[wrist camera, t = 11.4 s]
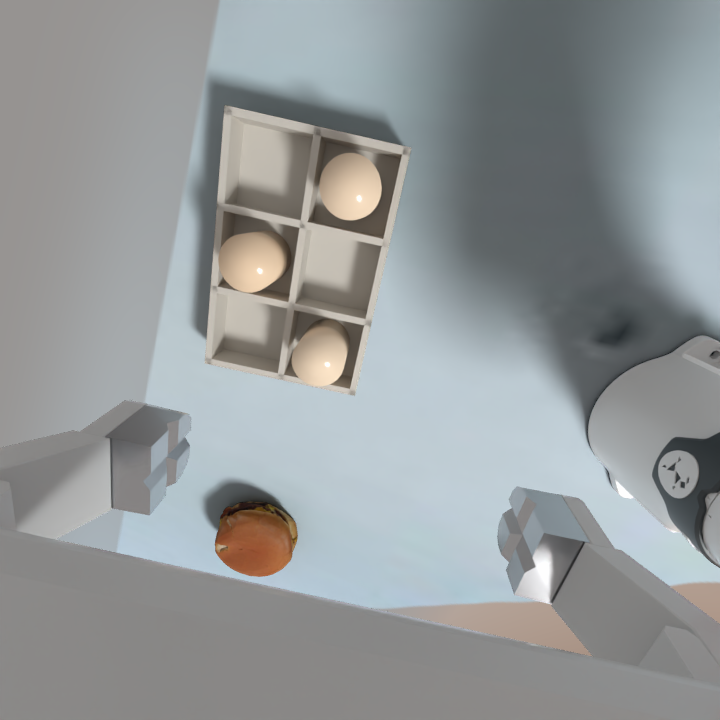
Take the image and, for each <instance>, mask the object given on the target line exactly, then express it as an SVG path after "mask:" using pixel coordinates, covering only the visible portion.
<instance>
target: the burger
mask: <svg viewBox="0 0 720 720" xmlns="http://www.w3.org/2000/svg"><path fill="white" fill-rule="evenodd" d="M297 536H298V535H297V527H296V523H295V522H294V520H293V519H292V518H291V517H290V516H288V515H287V514H286V513H284V512H283V511H281V510H280V509H278V508H276V507H273V506H272V505H270V504H268V503H263V502H245V503H243V502H242V503H238V504H236V505H235V506H233V507H232V508H231V507H227V508H226V509H225V510H224V511H223V514H222V515H221V517H220V526H219V530H218V532H217V536H216V540H215V551H216V553H217V555H218V556H219V558H220V559H221V560H222V561H223V562H224V563H225V564H226V565H227V566H229V567H230V568H232V569H233V570H235V571H237V572H239V573H242V574H246V575H249V576H258V577H261V576H268V575H272V574H274V573H276V572H278V571H280V570H282V569H283V568H284V567H285V566H286V565H287V564H288V562H289V561H290V560H291V558H292V552H293V550H294V547H295V545H296V542H297Z"/></svg>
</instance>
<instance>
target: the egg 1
mask: <svg viewBox="0 0 720 720" xmlns="http://www.w3.org/2000/svg"><path fill="white" fill-rule="evenodd" d="M218 263H219V269H220V272H221V274H222V276H223V277H224V279H225V280H226V281H227V283H228V284H229V285H231V286H232V287H233V288H235V289H237V290H239V291H242V292H247V293H252V292H257V291H260V290H262V289H264V288H265V287H267V286H268V285H270V284H271V283H273V282H274V281H276V280H278V279H279V278H281V277H282V276H283V275H285V273H286V272H287V271H288V269H289V267H290V265H291V251H290V248H289V245H288V244H287V242H286V241H285V239H284V238H283V237H282V236H280V235H279V234H277V233H275V232H273V231H268V230H262V231H256V232H250V233H244V234H238V235H235V236H232V237H231V238H229V239H228V240H227V241H226V242H225V243H224V244H223V245H222V247H221V249H220V252H219V257H218Z"/></svg>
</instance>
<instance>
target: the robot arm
mask: <svg viewBox="0 0 720 720" xmlns="http://www.w3.org/2000/svg"><path fill="white" fill-rule="evenodd" d="M713 351H714V354H713V355H712V356H710V355H711V353H712V352H713ZM190 430H191V417H190V415H189V414H187V413H183V412H179V411H175V410H170V409H166V408H162V407H158V406H154V405H148V404H146V403H141V402H136V401H132V400H125V401H123V402H122V403H120V404H119V405H117V406H116V407H115V408H113V409H112V410H110V411H109V412H107V413H106V414H105V415H103V416H102V417H100V418H99V419H97V420H96V421H95V422H93V423H92V424H90V425H89V426H88V427H86V428H84V429H83V430H82V431H80V432H78V431H73V430H72V431H68V432H64V433H60V434H56V435H51V436H47V437H43V438H39V439H35V440H30V441H26V442H22V443H18V444H14V445H9V446H6V447H2V448H0V720H720V624H719V623H718V622H717V621H715V620H714V619H713V618H711V617H710V616H708V615H707V614H706V613H704V612H703V611H702V610H701V609H699V608H698V607H697V606H695V605H694V604H693V603H691V602H690V601H688V600H687V599H686V598H684V597H683V596H682V595H680V594H679V593H678V592H676V591H675V590H674V589H672V588H671V587H670V586H668V585H667V584H666V583H664V582H663V581H662V580H660V579H659V578H658V577H656V576H655V575H654V574H652V573H651V572H650V571H648V570H647V569H646V568H644V567H643V566H642V565H640V564H639V563H638V562H636V561H635V560H634V559H632V558H631V557H630V556H628V555H627V554H626V553H624V552H623V551H622V550H617V549H615V548H614V547H613V545H612V544H611V542H610V541H609V539H608V538H607V536H606V535H605V533H604V532H603V530H602V529H601V527H600V526H599V524H598V523H597V521H596V520H595V518H594V517H593V515H592V514H591V512H590V511H589V509H588V508H587V506H586V505H585V503H584V502H583V501H582V500H580V499H579V498H575V497H570V496H564V495H559V494H552V493H547V492H542V491H537V490H532V489H527V488H522V487H516V488H515V489H514V490H513V491H512V494H511V496H510V498H509V501H510V504H511V507H512V508H511V509H510V510H508V511H507V512H505V513H504V514H503V515H502V517H501V520H500V523H499V527H498V536H497V537H498V546H499V549H500V552H501V554H502V556H503V557H504V558H505V559H506V560H507V561H508V562H509V564H508V566H507V569H506V571H507V574H508V577H509V580H510V583H511V586H512V589H513V592H514V595H516V596H520V597H524V598H529V599H533V600H537V601H541V602H545V603H549V604H552V605H551V606H552V607H553V608H554V610H555V611H556V612H557V614H558V615H559V616H560V617H561V618H562V620H563V621H564V622H565V623H566V625H567V626H568V627H569V628H570V629H571V631H572V632H573V633H574V634H575V635H576V637H577V638H578V639H579V640H580V641H581V643H582V644H583V645H584V646H585V648H586V649H587V650H588V651H589V652H590V653H591V655H592V656H593V657H592V656H587V655H583V654H578V653H574V652H569V651H565V650H560V649H555V648H551V647H546V646H542V645H537V644H533V643H528V642H523V641H519V640H514V639H510V638H505V637H500V636H496V635H491V634H487V633H482V632H478V631H473V630H469V629H464V628H459V627H455V626H450V625H446V624H441V623H437V622H432V621H428V620H422V619H418V618H414V617H409V616H405V615H400V614H395V613H391V612H386V611H382V610H377V609H372V608H368V607H363V606H359V605H354V604H349V603H345V602H340V601H335V600H331V599H326V598H322V597H317V596H312V595H308V594H303V593H298V592H294V591H289V590H284V589H280V588H275V587H271V586H266V585H262V584H257V583H252V582H248V581H243V580H239V579H234V578H229V577H225V576H220V575H216V574H211V573H207V572H202V571H197V570H193V569H188V568H184V567H179V566H175V565H170V564H165V563H161V562H156V561H152V560H147V559H142V558H138V557H133V556H129V555H124V554H120V553H115V552H110V551H106V550H101V549H97V548H92V547H87V546H83V545H78V544H73V543H69V542H64V541H60V540H55V539H57V538H59V537H61V536H63V535H65V534H67V533H68V532H70V531H72V530H74V529H76V528H78V527H80V526H82V525H84V524H86V523H88V522H90V521H92V520H93V519H95V518H97V517H99V516H101V515H103V514H105V513H107V512H109V511H111V508H114V509H119V510H124V511H129V512H135V513H140V514H145V515H150V514H151V513H152V512H153V511H154V509H155V508H156V507H157V506H158V504H159V503H160V502H161V501H162V500H163V498H164V497H165V496H166V487H167V486H169V485H172V484H174V483H176V482H177V481H178V479H179V478H180V477H181V475H182V473H183V471H184V469H185V467H186V465H187V462H188V457H189V451H190V445H189V443H188V442H187V440H186V438H185V436H186V435H187V434H188V433H189V431H190ZM588 437H589V442H590V446H591V448H592V451H593V452H594V454H595V456H596V457H597V459H598V460H599V461H600V462H601V463H602V464H603V465H604V466H605V467H606V469H607V470H608V472H609V475H610V480H611V484H612V487H613V489H614V490H615V491H616V492H617V493H618V494H619V495H620V496H622V497H624V498H635V499H636V500H637V501H638V502H639V503H640V504H641V505H642V506H643V507H644V508H645V509H646V510H647V511H648V512H649V513H650V514H651V515H652V516H653V517H655V518H656V519H657V520H658V521H659V522H660V523H661V524H662V525H663V526H664V527H665V528H667V529H668V530H670V531H671V532H674V533H676V532H680V533H682V535H683V536H684V537H685V538H686V540H687V541H688V542H689V543H690V544H691V545H692V546H693V547H694V548H695V549H696V550H698V551H699V552H700V553H702V554H703V555H704V556H705V557H706V558H707V559H708V560H709V561H710V562H711V563H713V564H714V565H716V566H718V567H719V568H720V342H719V341H717V340H715V339H713V338H711V337H708V336H704V335H703V336H697V337H695V338H693V339H691V340H689V341H687V342H686V343H684V344H683V345H681V346H680V347H679V348H677V349H676V350H675V351H673V352H672V353H670V354H667V355H665V356H662V357H659V358H656V359H653V360H649V361H647V362H644V363H642V364H639V365H637V366H635V367H633V368H631V369H630V370H628V371H626V372H625V373H623V374H622V375H620V376H619V377H618V378H617V379H615V380H614V381H613V382H612V383H611V384H610V385H609V386H608V387H607V388H606V389H605V390H604V392H603V393H602V394H601V396H600V397H599V399H598V400H597V402H596V404H595V406H594V408H593V410H592V413H591V416H590V419H589V425H588Z"/></svg>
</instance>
